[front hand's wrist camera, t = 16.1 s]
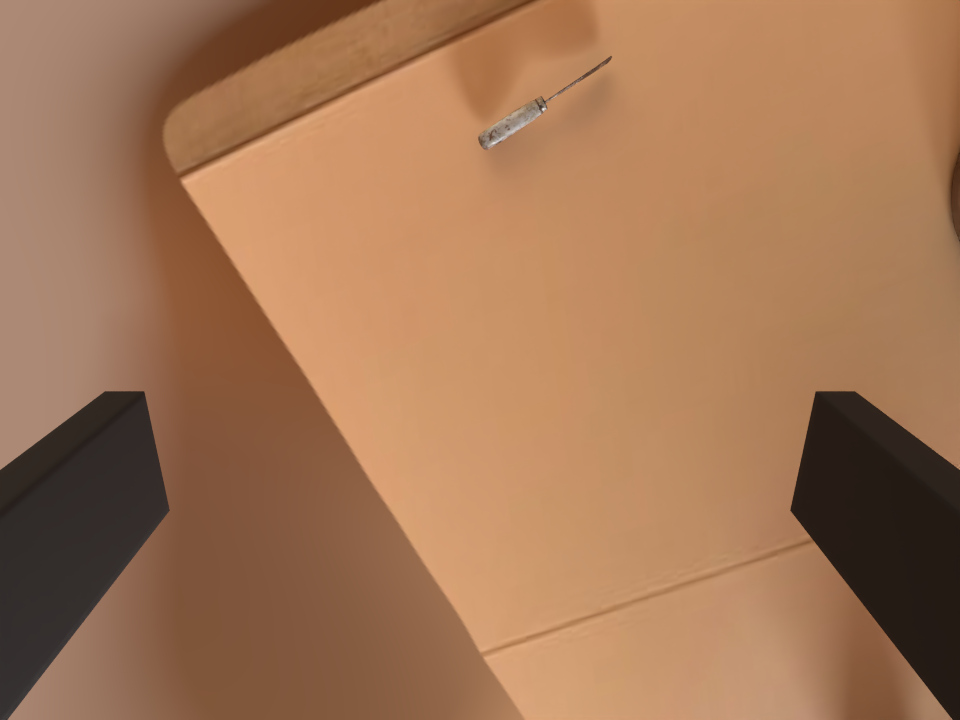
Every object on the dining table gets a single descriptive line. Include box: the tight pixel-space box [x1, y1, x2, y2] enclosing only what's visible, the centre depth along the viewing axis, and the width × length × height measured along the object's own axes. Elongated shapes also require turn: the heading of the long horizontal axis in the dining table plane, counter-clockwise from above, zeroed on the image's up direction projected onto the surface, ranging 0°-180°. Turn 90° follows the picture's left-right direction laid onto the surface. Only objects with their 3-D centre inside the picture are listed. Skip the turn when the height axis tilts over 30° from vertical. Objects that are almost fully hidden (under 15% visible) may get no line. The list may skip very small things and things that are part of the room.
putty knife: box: [478, 56, 612, 150], centre depth 34 cm, size 1×8×2 cm, turn 124°
